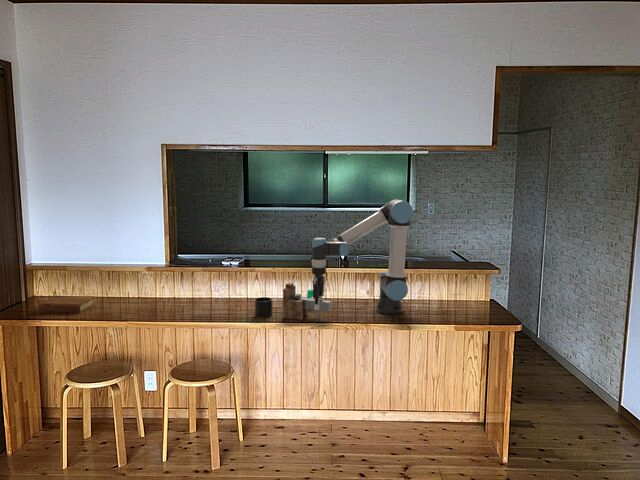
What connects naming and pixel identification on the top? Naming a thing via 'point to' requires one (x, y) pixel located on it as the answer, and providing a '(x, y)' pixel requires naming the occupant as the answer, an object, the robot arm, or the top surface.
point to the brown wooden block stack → (292, 303)
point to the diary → (66, 304)
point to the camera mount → (310, 294)
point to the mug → (263, 307)
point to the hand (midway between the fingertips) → (318, 308)
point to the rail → (309, 303)
